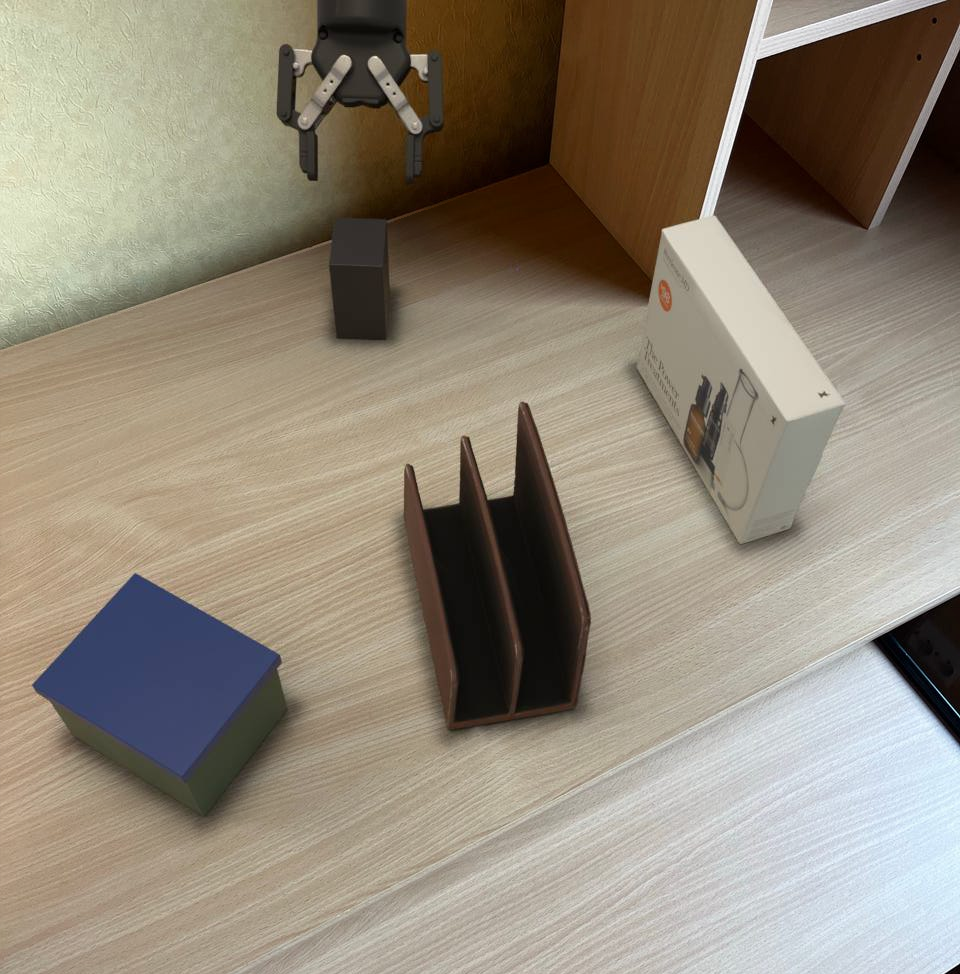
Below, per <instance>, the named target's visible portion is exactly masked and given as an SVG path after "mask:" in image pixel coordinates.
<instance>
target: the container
mask: <svg viewBox="0 0 960 974" xmlns="http://www.w3.org/2000/svg"><path fill="white" fill-rule="evenodd" d="M282 664H283V661H282V658H281V653H278V652H276V651H274V650H273V649H271V648H269V647H267V646H265V645H264V644H262V643H260V642H258V641H256V640H255V639H254V638H251V637H250V636H248V635H246V634H244V633H242V632H241V631H239V630H237V629H235V628H234V627H232V626H230V625H229V624H227V623H224V622H223V621H221V620H219V619H218V618H216V617H214V616H212V615H211V614H209V613H207V612H205V611H203V610H202V609H200V608H198V607H196V606H195V605H194V604H193V605H192V604H191V603H189V602H187V601H186V600H185V599H182V598H180V597H179V596H177V595H175V594H173V593H172V592H170V591H168V590H167V589H165V588H163V587H161V586H159V585H158V584H155V583H154V582H152V581H150V580H148V579H147V578H146V577H143V576H142V575H140V574H138V573H136V572H135V573H133V575H132V576H130V578H129V579H128V580H127V581H125V583H124V584H123V585H122V586H121V588H119V589H118V591H117V592H116V593H115V594H114V595H113V596H112V597H111V598H110V599H109V600H108V602H107V603H105V605H103V607H102V608H101V609H100V610H99V611H98V613H97V614H96V615H95V616H94V617H93V618H92V619H91V620H90V621H89V622H88V623H87V624H86V625H85V627H84V628H83V629H82V630H81V631H80V632H79V633H78V634H77V635H76V636H75V637H74V638H73V640H72V641H70V643H69V644H68V645H67V646H66V647H65V648H64V649H63V650H62V651H61V653H60V654H59V655H58V656H57V657H56V658H55V659H54V660H53V661H52V662H51V663H50V664H49V666H48V667H46V668H45V670H44V671H43V672H42V673H41V674H40V675H39V677H37V679H35V680H34V682H33V683H32V684H31V686H32V688H33V690H34V691H35V693H36V694H37V695H38V696H40V697H42V698H44V699H46V700H47V701H49V702H50V704H51V705H52V707H53V708H54V710H55V711H56V712H57V714H58V716H59V717H60V719H61V720H62V722H63V723H64V725H65V726H66V728H67V729H68V731H69V732H70V733H71V736H73V737H74V738H75V739H77V740H79V741H80V742H82V743H83V744H85V745H86V746H89V747H90V748H91V749H93V750H94V751H96V752H98V753H100V754H101V755H103V756H104V757H106V758H108V759H109V760H111V761H112V762H114V763H116V764H117V765H119V766H121V767H122V768H124V769H125V770H127V771H129V772H131V773H132V774H134V775H135V776H137V777H139V778H140V779H142V780H144V781H145V782H147V783H148V784H150V785H151V786H152V787H155V789H158V790H160V791H161V792H163V793H165V795H168V796H169V797H171V798H172V799H174V800H176V801H177V802H179V803H181V804H182V805H184V806H185V807H187V808H189V809H190V810H192V811H194V812H195V813H197V814H198V815H199V816H202V817H206V816H207V815H208V813H209V812H210V810H211V809H212V808H213V807H214V805H215V804H216V803H217V801H218V800H219V799H220V797H222V795H223V793H224V792H225V791H226V790H227V788H228V787H229V786H230V785H231V784H232V782H233V781H234V779H235V778H236V777H237V775H238V774H239V773H240V771H241V770H242V769H243V767H245V765H246V764H247V762H248V761H249V760H250V759H251V757H252V756H253V755H254V754H255V752H256V751H257V750H258V749H259V747H260V746H261V744H262V743H263V741H265V740H266V738H267V737H268V735H269V734H270V733H271V731H272V730H273V729H274V728H275V726H276V725H277V724H278V722H279V721H280V720H281V719H282V717H283V716H284V714H286V712H287V711H288V706H287V702H286V698H285V694H284V691H283V690H284V689H283V686H282V682H281V678H280V674H279V671H278V669H279V668H280V666H281V665H282Z"/></svg>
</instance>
